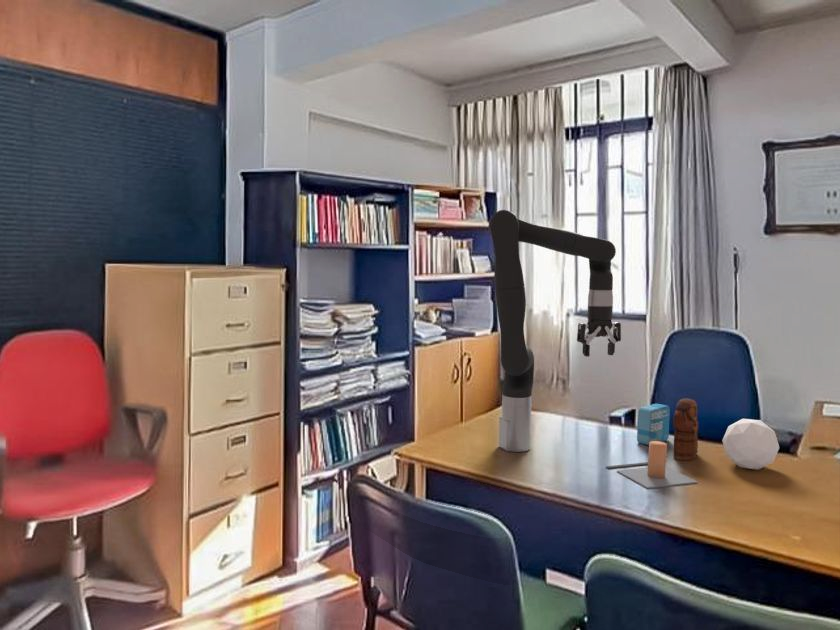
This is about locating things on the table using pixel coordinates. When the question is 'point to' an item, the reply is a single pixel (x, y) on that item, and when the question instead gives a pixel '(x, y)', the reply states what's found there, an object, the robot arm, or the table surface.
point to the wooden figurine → (685, 430)
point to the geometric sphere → (750, 444)
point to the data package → (653, 423)
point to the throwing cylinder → (657, 459)
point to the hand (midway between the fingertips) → (598, 355)
